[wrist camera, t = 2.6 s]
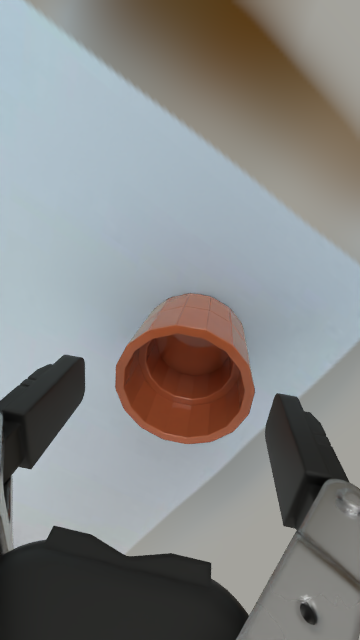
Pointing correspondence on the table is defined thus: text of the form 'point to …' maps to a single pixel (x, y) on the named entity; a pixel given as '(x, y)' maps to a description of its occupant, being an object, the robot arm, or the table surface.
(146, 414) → the flower pot
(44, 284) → the table surface
